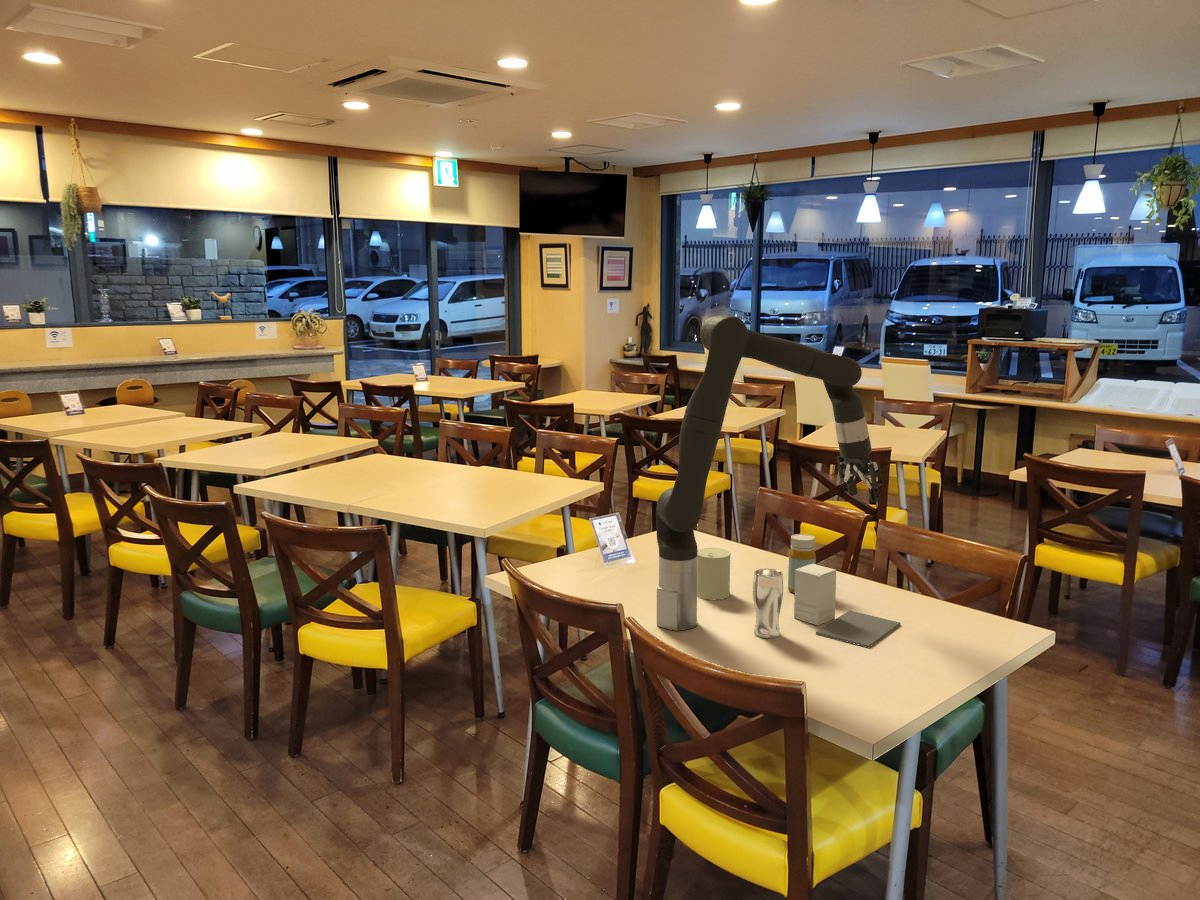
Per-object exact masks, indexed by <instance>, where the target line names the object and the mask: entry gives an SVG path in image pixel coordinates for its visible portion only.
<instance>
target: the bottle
mask: <svg viewBox="0 0 1200 900" xmlns="http://www.w3.org/2000/svg"><path fill="white" fill-rule="evenodd" d="M815 540H816V538H815V536H814V535H811V534H807V533H806V534H805V533H796V534H792V535H791V536H790V549H789V552H788V567H787V568H788V569H787V570H788V571H787V589H788V590H789V592H790V593H792V594H794V593H795V569H798V568H801V567H804V566H807V565H810V564H816V560H817V557H816V556H817V555H816V551H815V545H816V541H815ZM816 565H817V564H816Z"/></svg>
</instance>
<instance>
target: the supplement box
mask: <svg viewBox="0 0 1200 900" xmlns="http://www.w3.org/2000/svg"><path fill="white" fill-rule="evenodd" d="M836 582H837V569H835V568H832V567H826V566H823V565H819V564H810V565H807V566H804V567H801V568H798V569H795V594H794V603H793V604H794V605H793V606H794V607H793V608H794V609H793V614H794V615H793V618H794V619H797V620H800V621H803V622H806V623H809V624H812V625H816V626H820V625H822V624H825V623H827V622H831V621H833V620H835V619H836V593H837V592H836V591H837V589H836V588H837V583H836ZM832 619H833V620H832Z"/></svg>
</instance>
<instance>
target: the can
mask: <svg viewBox="0 0 1200 900" xmlns="http://www.w3.org/2000/svg"><path fill="white" fill-rule="evenodd" d="M730 585H731V551H730V550H728V549H725V548H718V547H706V548H701V549H697V598H699V597H700V599H702V598H703V599H702V600H706V599H709V600H708V601H712V600H711V599H715V600H714V601H717V600H716V599H722V600H725V599H724V598H726V599H728V598H730V596H731V589H730V587H731V586H730ZM727 597H728V598H727Z"/></svg>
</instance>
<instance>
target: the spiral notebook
mask: <svg viewBox="0 0 1200 900" xmlns="http://www.w3.org/2000/svg"><path fill="white" fill-rule="evenodd" d="M900 626H901V622H900V621H896V620H891V619H887V618H883V617H879V616H875V615H871V614H866V613H862V612H857V611H854V610H848V611H846V612H844V613H843V614H841V615H839V616H838V617H836V618H834V619H833V620H831V621H829V623H827V624H825V625H824V626H822V627H821V628H819V629H817V630H816V631H815V635H817V634H819V635H818V636H821V635H822V637H825V638H829V637H830V639H833V638H834V639H833V640H836V639H838V640H837V641H840V640H842V641H841V642H844V641H848V642H851V643H855V644H859V645H862V646H861V647H863V646H866V647H865V648H867V647H870V646H871V645H872V646H874V645H875V644H877V643H878V642H879V641H880V640H882V639H883V638H885V637H886V636H888V633H889V634H890V633H892V632H893V631H894V630H895V629H897V628H898V627H900ZM881 638H882V639H881ZM877 641H878V642H877ZM848 642H847V643H848ZM851 643H850V644H851ZM874 643H875V644H874ZM855 644H854V645H855ZM873 644H874V645H873ZM859 645H858V646H859ZM872 646H871V647H872ZM871 647H870V648H871Z"/></svg>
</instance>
